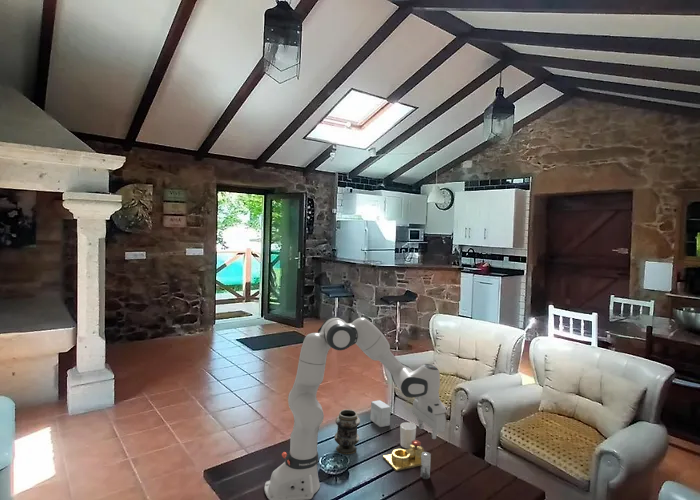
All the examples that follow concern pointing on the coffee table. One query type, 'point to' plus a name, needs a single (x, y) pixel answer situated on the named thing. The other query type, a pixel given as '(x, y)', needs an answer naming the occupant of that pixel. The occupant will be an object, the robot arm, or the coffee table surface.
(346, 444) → the apothecary jar
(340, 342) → the robot arm
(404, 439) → the white cup
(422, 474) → the silver metal cylinder
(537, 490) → the coffee table surface
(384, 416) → the skincare box
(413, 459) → the brass valve fitting
